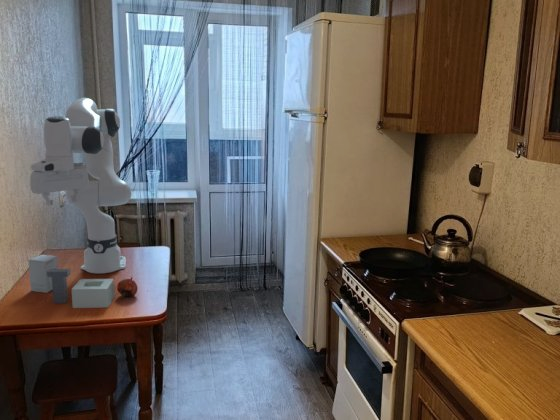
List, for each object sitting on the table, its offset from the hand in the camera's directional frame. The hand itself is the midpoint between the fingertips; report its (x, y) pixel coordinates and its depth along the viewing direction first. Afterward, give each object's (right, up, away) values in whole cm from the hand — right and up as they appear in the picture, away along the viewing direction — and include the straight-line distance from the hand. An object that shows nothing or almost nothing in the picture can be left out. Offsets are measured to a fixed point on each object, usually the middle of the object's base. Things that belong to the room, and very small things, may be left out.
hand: (62, 203), depth 165 cm
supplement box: (-14, -33, +16) cm, 40 cm away
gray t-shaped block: (-3, -36, +5) cm, 36 cm away
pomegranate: (+19, -35, +11) cm, 42 cm away
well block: (+9, -36, +5) cm, 37 cm away
